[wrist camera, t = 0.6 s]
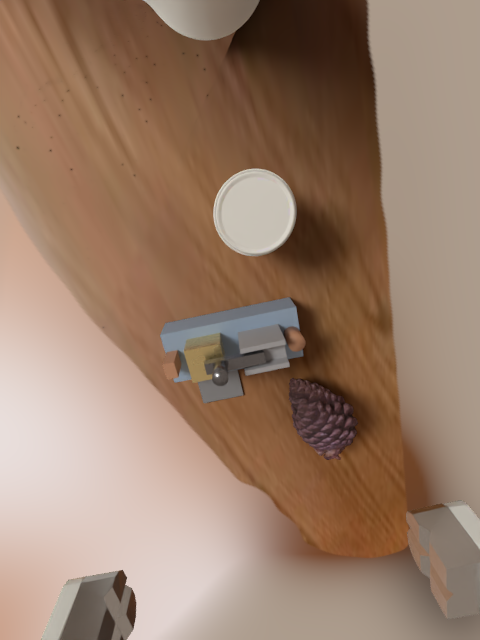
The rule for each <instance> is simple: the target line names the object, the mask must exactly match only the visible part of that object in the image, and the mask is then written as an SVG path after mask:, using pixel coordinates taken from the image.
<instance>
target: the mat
mask: <svg viewBox="0 0 480 640" xmlns="http://www.w3.org/2000/svg"><path fill="white" fill-rule="evenodd" d="M228 378H229V379H228V382H227V384H226V385H224V386H217V385H215V384H214V383H213V381H212V379H210V380H205V381H200V382H198V385H199V388H200V392H201V395H202V399H203V403H208V402H212V401H217V400H222V399H227V398H232V397H237V396H242V395H243V391H242V386H241V382H240V378H239V373H238V370H234V371H229V372H228Z"/></svg>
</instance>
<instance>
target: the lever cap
mask: <svg viewBox="0 0 480 640" xmlns="http://www.w3.org/2000/svg"><path fill="white" fill-rule="evenodd" d="M184 354H185V358H186V361H187V365H188V368H189V372H190V375H191V379H192V382H193V383H195V382H200V381H205V380H210V379H212V374H211V375H207V374H206V370H205V366H204V361H205V360H210V359H215V358H220V357H224V356H225V351H224V347H223V343H222V339H221V335H220V333H216V334H211V335H206V336H201V337H197V338H192V339H187V340H186V344H185V348H184Z"/></svg>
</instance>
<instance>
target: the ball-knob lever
mask: <svg viewBox="0 0 480 640" xmlns="http://www.w3.org/2000/svg"><path fill="white" fill-rule="evenodd" d="M264 363H266V360H265V355H264V351H263V349H262V350H257V351H253V352H248V353H243V354H241V353H239V354H234V355H229V356H224V357H220V358H215V359H210V360H205V361H204V366H205V370H206V374H207V375H211V374H212V381H213V383H214V384H215V385H217V386H224V385H226V384H227V382H228V379H229V378H228V371H230V370H235V369H240V368H245V367H249V366H254V365H259V364H264Z"/></svg>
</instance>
